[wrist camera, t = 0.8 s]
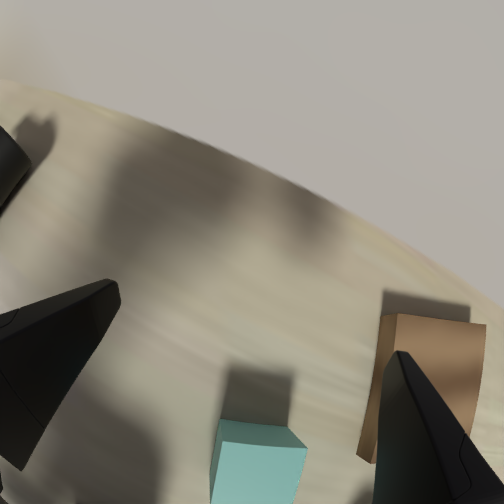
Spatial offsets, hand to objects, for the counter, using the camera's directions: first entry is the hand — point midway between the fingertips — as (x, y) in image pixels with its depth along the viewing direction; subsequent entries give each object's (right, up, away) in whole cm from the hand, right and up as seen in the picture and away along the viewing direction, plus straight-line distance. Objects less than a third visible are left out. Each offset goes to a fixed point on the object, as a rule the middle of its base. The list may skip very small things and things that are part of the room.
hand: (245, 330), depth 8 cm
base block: (+16, -10, +13) cm, 23 cm away
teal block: (0, -12, +10) cm, 16 cm away
